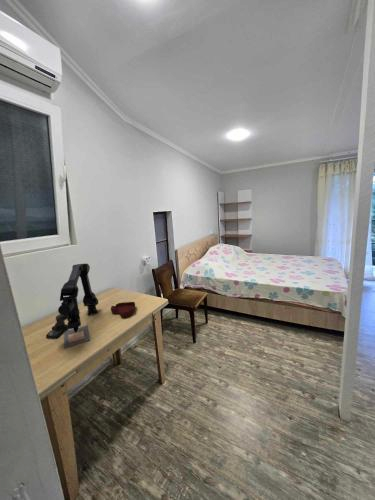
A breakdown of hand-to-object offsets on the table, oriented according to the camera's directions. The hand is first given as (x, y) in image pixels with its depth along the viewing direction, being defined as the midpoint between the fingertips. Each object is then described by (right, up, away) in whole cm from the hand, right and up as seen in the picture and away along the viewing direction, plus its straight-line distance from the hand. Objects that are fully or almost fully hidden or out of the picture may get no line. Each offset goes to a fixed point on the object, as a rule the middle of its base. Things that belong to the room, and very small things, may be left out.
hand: (76, 331), depth 119 cm
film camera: (-15, -4, +8) cm, 17 cm away
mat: (-1, -4, +3) cm, 5 cm away
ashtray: (+20, +2, +32) cm, 37 cm away
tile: (-2, -3, +3) cm, 4 cm away
